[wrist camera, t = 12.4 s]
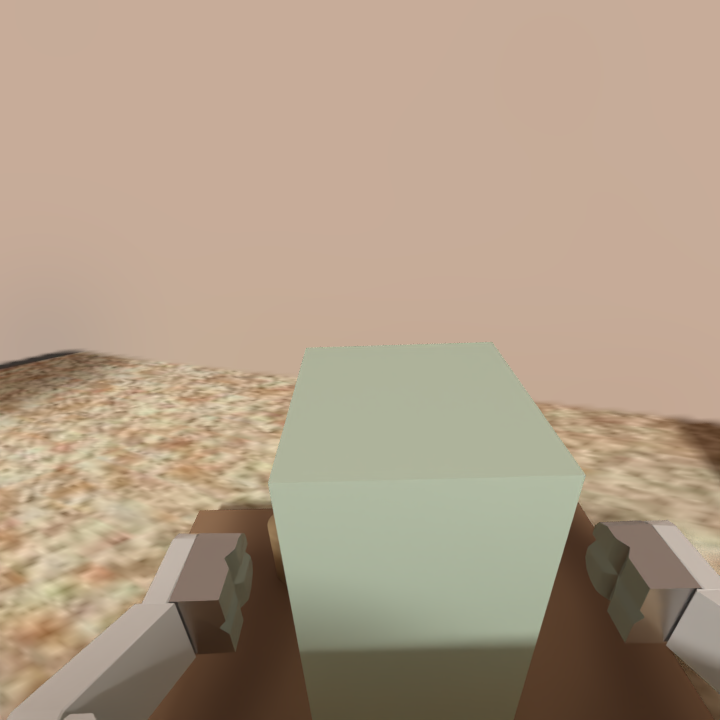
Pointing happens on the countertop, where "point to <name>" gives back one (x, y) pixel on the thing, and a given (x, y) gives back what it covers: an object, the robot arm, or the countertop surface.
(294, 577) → the block
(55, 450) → the countertop surface
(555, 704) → the nest board
